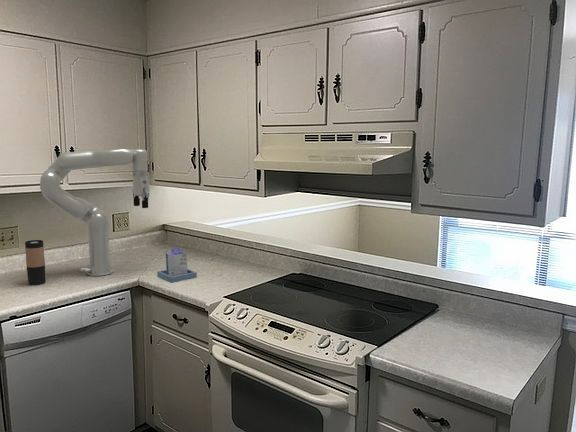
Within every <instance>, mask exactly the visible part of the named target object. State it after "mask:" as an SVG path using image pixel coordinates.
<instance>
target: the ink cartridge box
mask: <svg viewBox="0 0 576 432" xmlns="http://www.w3.org/2000/svg"><path fill="white" fill-rule="evenodd" d="M165 266H166V267H165V268H166V269H165V270H167V275H169V276H172V277H174V276H178V275H183V274H188V271H187V269H188V253H187V252H186V251H184V250H183V251H180V247H172V248H171V252H166V253H165Z"/></svg>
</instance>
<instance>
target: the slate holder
mask: <svg viewBox="0 0 576 432" xmlns="http://www.w3.org/2000/svg"><path fill="white" fill-rule="evenodd" d="M187 271H188V274H183V275H178V276H174V277H172V276H169V275H167V270H166V269H164V270H162V269H161V270H158V271H157V272H156V273H157V275H156V277H158V278H160V279H162V280H165V281H167V282H170V283H177V282H181V280H182V281H186V280H191V279H193V278H194V279H195V278H197V277H198V275H197V273H198V272H197V271H195V270H192V269H189V268H187Z"/></svg>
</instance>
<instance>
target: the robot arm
mask: <svg viewBox="0 0 576 432" xmlns="http://www.w3.org/2000/svg"><path fill="white" fill-rule="evenodd" d="M129 164H131V168H132V169H131V170H132V190H131V191H132V195H133V196H132V198H133V206H134V207H140V206H141V208H142V209H148V208H149V197H150V182H149V172H148V171H149V170H148V169H149V168H148V166H149V165H148V151H147V150H146V149H137V148H136V149H127V148H120V149H113V150H110V149H109V150H96V149H95V150H81V151H68V152H67V151H65V152H61V154H60V155H58V157H57V158H56V159H55V160H54V162H52V163H51V164H50V166H48V168H47V169H46V170H44V172H43V173H42V175H40V179H39V189H40V192H41V194H42V196H43V198H45V200H46V201H48V202H49V203H51V205H54V206H56V207H57V208H59V210H61V211H63V212H65V213H67V214H68V215H69V216H71V217H72V218H75V219H79V220H81V221H82V222H85V224H87V236H88V238H87V239H88V254H89V255H88V257H89V264H87V266H86V267H80V268H79V272H81V273H82V272H84V273H86V275H87V276H90V277H104V276H109V275H111V274H113V273H114V271H115V270H114V268H112V267H111V260H110V259H111V257H110V255H111V253H110V238H109V237H110V234H109V233H110V231H109V230H110V229H109V228H110V227H109V226H110V224H109V219H108V216H107V214H106V213H105V211H103V210H102V209H100V208H99V207H97V206H95V205H94V204H93V203H90V202H89V201H88V200H86V199H84V198H81V197H76V196H74V195H73V194H71V193H70V192H69V191H66V190H65V189H63V188H62V187H61V186H60V185H61V182H63V180H64V179H65V178H66V177H67V175H69V173H70V172H71V171H74V170H85V169H95V168H96V169H97V168H104V167H113V166H123V165H129ZM140 197H141V198H140ZM141 199H142V200H141Z"/></svg>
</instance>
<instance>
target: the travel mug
mask: <svg viewBox="0 0 576 432" xmlns="http://www.w3.org/2000/svg"><path fill="white" fill-rule="evenodd" d="M24 247H25V250H24V251H25V264H26V273H27V281H28V282H27V283H28V285H29V286H41V285H43V284H46V261H45V249H44V248H45V246H44V240H42V239H41V240H40V239H34V240H33V239H32V240H27V241H25V242H24Z"/></svg>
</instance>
